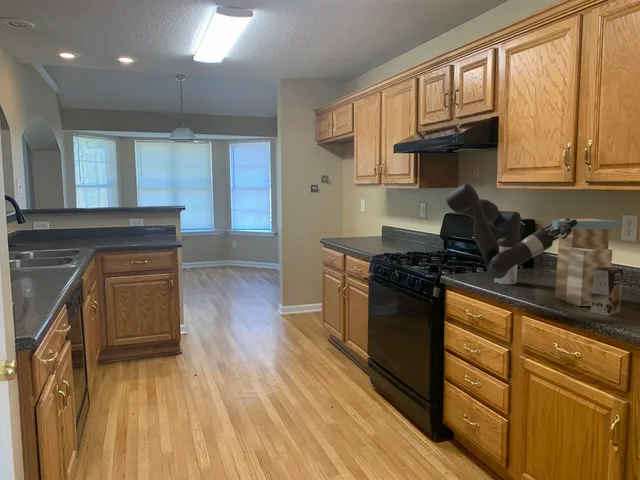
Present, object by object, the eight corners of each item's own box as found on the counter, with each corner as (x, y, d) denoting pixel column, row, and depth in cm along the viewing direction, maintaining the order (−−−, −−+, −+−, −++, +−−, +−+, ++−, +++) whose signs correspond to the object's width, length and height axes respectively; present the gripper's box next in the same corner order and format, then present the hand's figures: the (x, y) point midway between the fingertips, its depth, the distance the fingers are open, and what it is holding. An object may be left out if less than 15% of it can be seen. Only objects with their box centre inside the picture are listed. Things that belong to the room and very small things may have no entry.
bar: (557, 229, 181) (557, 221, 181) (551, 228, 184) (552, 220, 184) (618, 228, 186) (619, 221, 186) (612, 228, 189) (613, 220, 189)
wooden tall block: (568, 301, 192) (573, 220, 188) (555, 296, 200) (560, 219, 196) (604, 300, 195) (610, 220, 191) (589, 295, 203) (595, 218, 199)
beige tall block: (580, 307, 184) (584, 250, 182) (566, 301, 192) (569, 247, 190) (608, 305, 186) (612, 249, 184) (593, 300, 194) (596, 247, 192)
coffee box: (609, 316, 172) (612, 271, 170) (590, 312, 177) (593, 268, 175) (620, 312, 177) (624, 268, 175) (602, 308, 182) (605, 266, 180)
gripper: (543, 237, 175) (582, 213, 176) (520, 233, 188) (556, 211, 190) (551, 255, 176) (590, 231, 178) (528, 250, 190) (564, 227, 191)
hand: (572, 221), depth 184 cm, fingers closed on bar, 3 cm apart
